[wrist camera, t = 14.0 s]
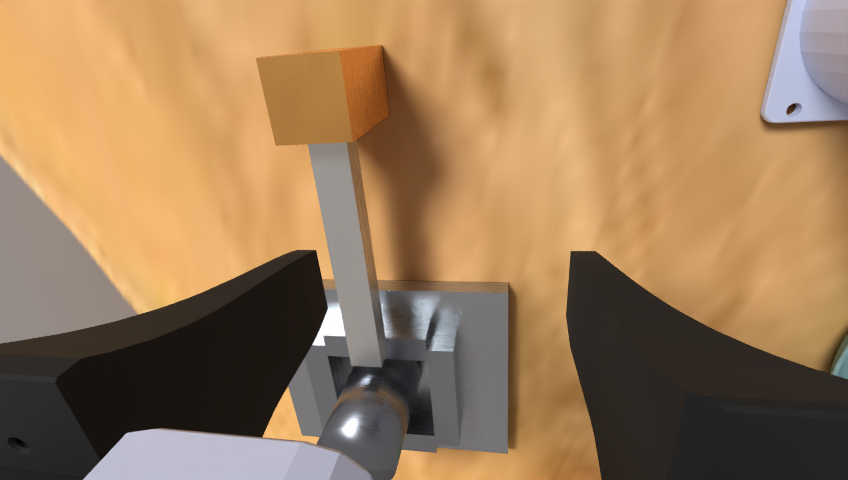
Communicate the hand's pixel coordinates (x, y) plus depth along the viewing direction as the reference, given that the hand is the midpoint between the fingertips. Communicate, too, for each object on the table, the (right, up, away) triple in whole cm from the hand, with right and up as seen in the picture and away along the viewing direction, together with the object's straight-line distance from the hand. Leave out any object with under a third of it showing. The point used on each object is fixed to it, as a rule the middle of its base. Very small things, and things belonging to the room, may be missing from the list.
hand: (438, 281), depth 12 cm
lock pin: (-3, +3, +10) cm, 11 cm away
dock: (-2, -6, +15) cm, 16 cm away
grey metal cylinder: (-3, -7, +14) cm, 15 cm away
